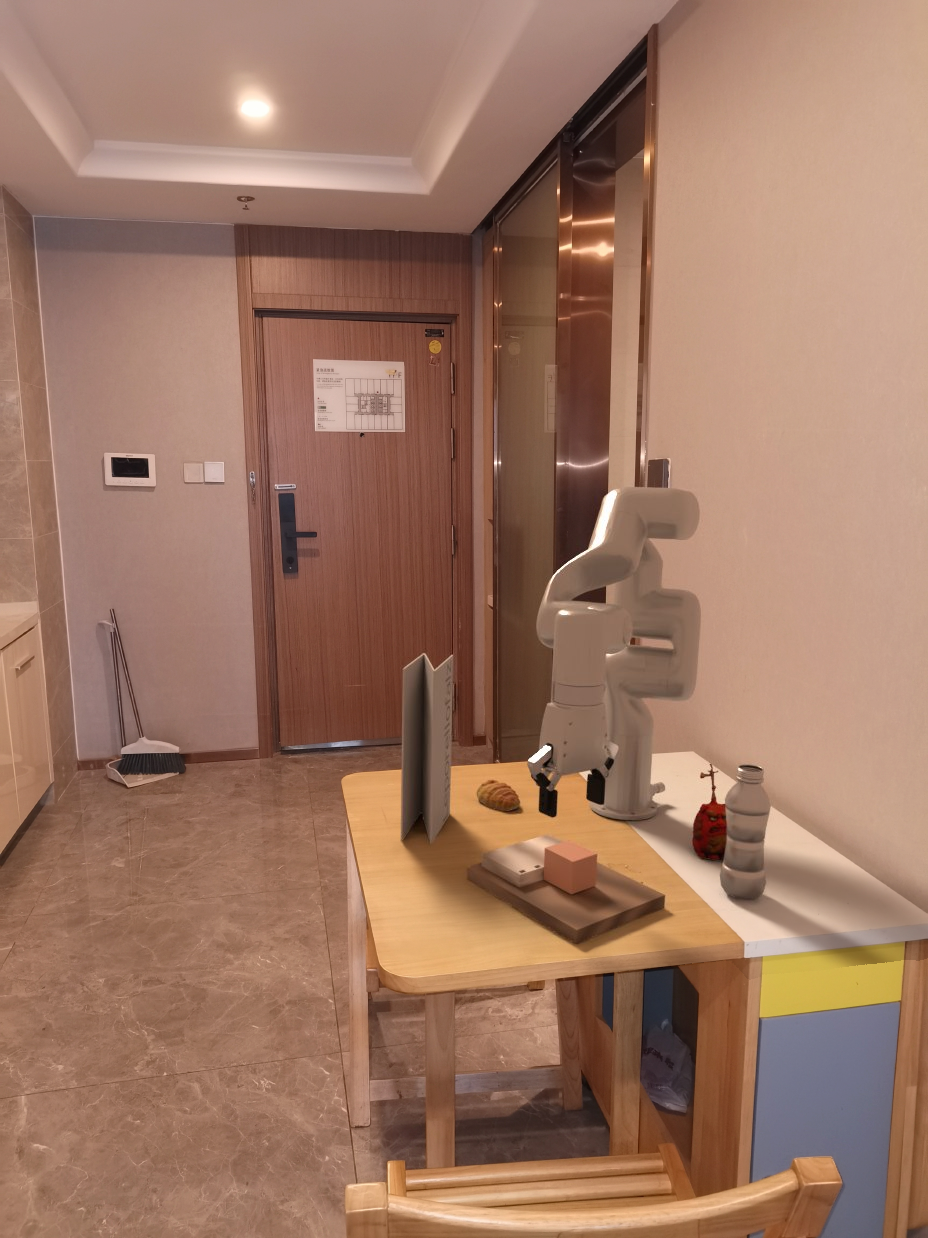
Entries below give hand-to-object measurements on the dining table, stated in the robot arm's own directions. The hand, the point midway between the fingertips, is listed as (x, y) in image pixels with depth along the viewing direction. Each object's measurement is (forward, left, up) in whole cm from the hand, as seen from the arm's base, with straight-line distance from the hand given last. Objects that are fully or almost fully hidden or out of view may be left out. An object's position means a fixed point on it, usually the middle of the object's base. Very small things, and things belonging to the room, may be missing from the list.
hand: (571, 808), depth 132 cm
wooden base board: (0, -2, -14) cm, 14 cm away
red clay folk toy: (-32, +2, -14) cm, 35 cm away
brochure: (+2, -35, -14) cm, 37 cm away
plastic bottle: (-22, +14, -14) cm, 30 cm away
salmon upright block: (0, 0, -12) cm, 12 cm away
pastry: (-17, -37, -15) cm, 43 cm away
